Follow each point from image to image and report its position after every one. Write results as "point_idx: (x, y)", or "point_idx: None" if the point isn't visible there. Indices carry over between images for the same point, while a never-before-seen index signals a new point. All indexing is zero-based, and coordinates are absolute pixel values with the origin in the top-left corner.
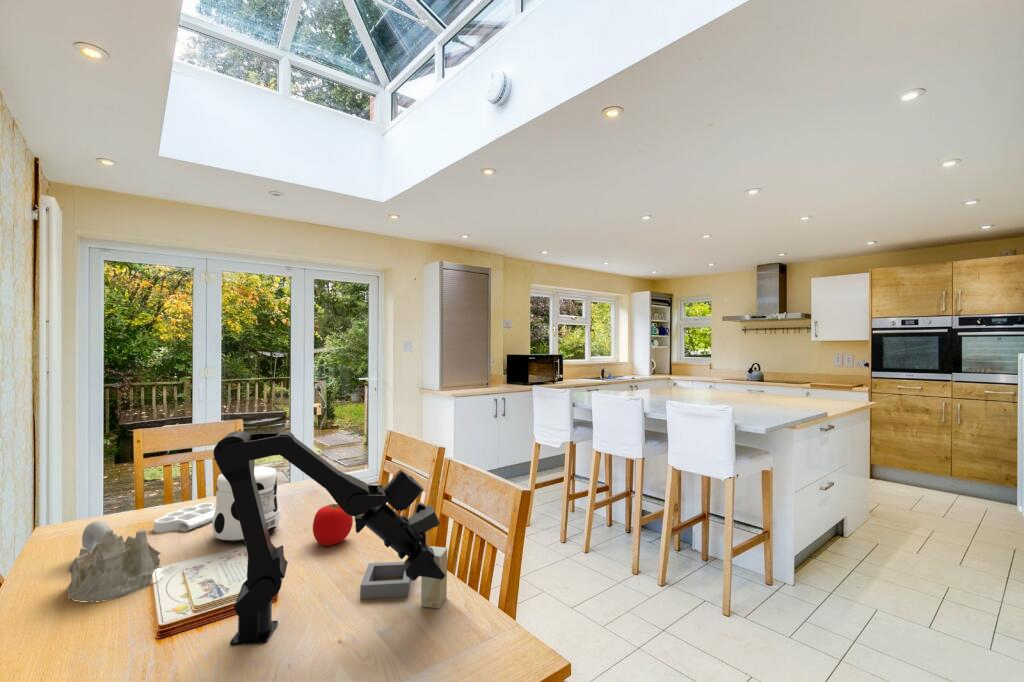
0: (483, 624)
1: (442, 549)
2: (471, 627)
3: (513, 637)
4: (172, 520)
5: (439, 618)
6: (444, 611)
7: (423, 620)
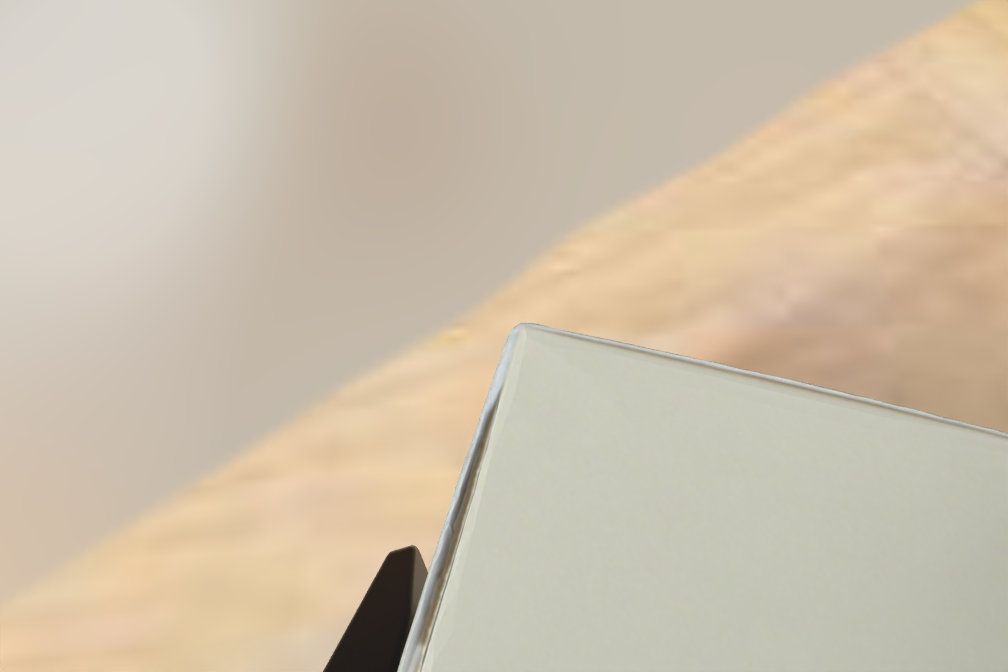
0: (880, 206)
1: (641, 423)
2: (929, 275)
3: (981, 57)
4: None
5: None
6: None
7: None
